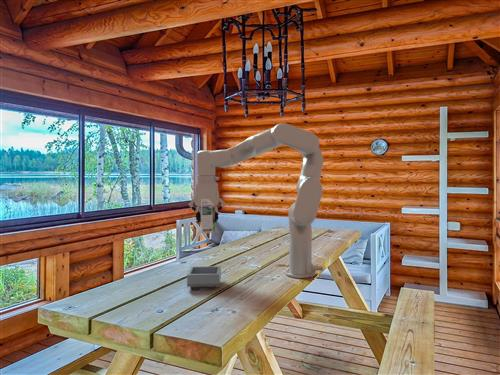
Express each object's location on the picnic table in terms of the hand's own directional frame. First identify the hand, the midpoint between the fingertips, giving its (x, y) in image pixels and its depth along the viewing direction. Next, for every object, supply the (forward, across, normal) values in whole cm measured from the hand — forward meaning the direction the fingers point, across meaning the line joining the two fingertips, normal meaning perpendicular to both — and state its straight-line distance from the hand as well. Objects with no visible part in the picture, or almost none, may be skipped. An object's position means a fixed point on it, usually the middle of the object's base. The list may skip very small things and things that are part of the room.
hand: (207, 221), depth 160 cm
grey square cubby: (+23, 0, +14) cm, 27 cm away
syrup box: (+5, 0, 0) cm, 5 cm away
